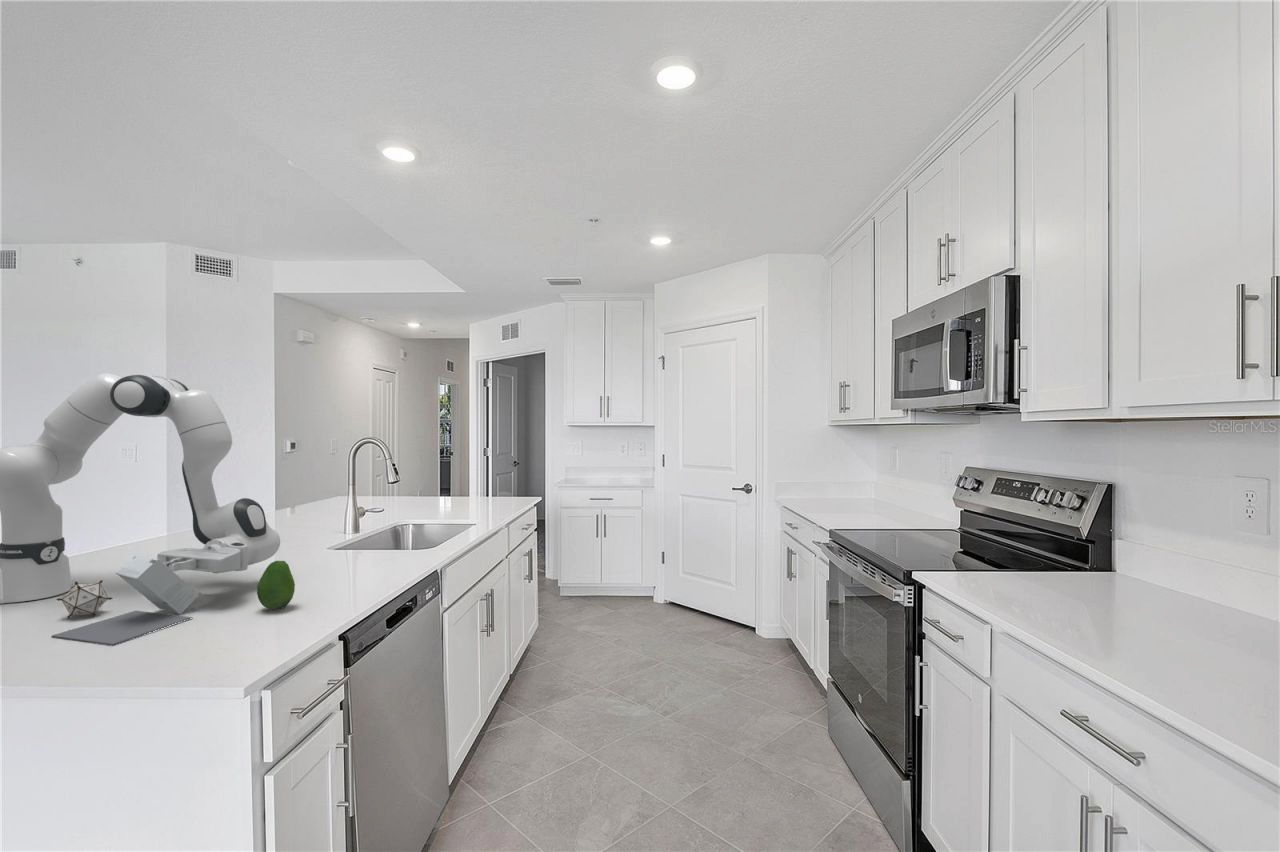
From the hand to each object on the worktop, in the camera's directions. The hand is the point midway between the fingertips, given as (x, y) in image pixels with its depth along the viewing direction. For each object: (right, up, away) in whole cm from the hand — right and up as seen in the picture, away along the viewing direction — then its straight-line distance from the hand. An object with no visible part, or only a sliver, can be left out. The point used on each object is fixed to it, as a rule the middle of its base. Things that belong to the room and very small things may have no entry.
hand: (167, 567), depth 142 cm
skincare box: (+1, -9, +3) cm, 10 cm away
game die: (-18, -11, -2) cm, 21 cm away
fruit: (+23, -12, +5) cm, 26 cm away
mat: (-2, -11, -9) cm, 15 cm away
